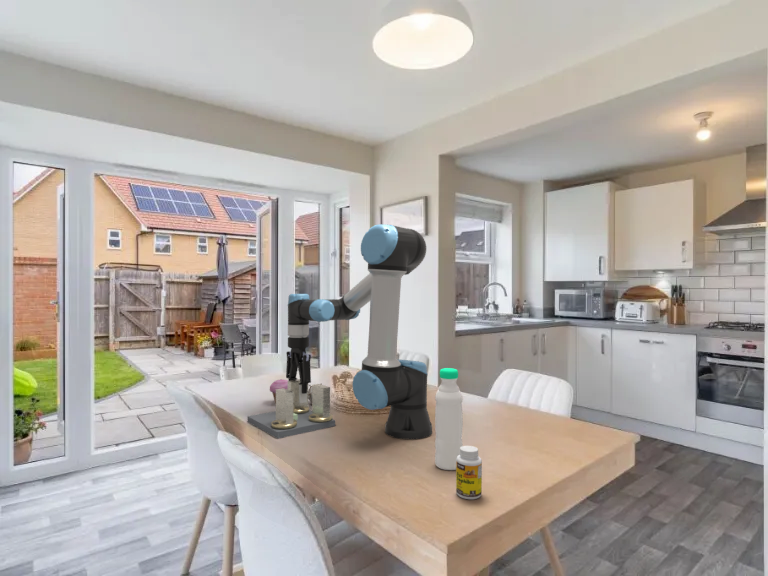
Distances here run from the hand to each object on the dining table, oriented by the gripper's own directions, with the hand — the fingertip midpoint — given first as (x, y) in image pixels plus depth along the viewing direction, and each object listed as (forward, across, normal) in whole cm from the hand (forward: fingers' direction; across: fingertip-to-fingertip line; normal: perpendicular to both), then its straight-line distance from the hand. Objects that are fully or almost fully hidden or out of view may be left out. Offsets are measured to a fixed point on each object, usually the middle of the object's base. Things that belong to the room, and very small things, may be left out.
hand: (297, 400), depth 159 cm
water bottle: (+6, -65, -8) cm, 66 cm away
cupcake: (+6, +21, -4) cm, 22 cm away
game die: (+6, +12, -15) cm, 20 cm away
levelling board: (+6, -6, +6) cm, 10 cm away
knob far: (+4, 0, 0) cm, 4 cm away
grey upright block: (+4, -14, -1) cm, 15 cm away
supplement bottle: (+6, -79, +1) cm, 79 cm away
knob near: (+4, -13, +12) cm, 18 cm away
